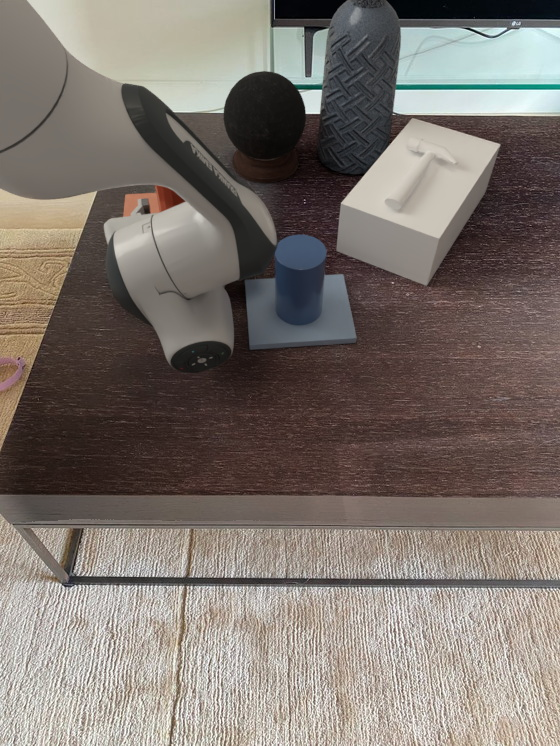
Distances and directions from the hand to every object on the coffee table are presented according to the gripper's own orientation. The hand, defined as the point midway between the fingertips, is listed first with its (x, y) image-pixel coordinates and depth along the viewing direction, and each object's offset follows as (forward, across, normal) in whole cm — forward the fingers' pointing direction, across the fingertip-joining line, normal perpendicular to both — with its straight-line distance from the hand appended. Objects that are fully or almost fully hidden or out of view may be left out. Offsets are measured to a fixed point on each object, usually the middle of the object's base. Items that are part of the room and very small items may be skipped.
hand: (177, 198), depth 87 cm
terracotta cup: (+4, 0, +7) cm, 8 cm away
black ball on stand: (+18, -16, +8) cm, 25 cm away
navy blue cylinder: (-17, -14, +7) cm, 23 cm away
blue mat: (-17, -14, +8) cm, 24 cm away
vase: (+17, -31, +8) cm, 36 cm away
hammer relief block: (-2, -36, +8) cm, 37 cm away
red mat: (+4, 0, +8) cm, 9 cm away
